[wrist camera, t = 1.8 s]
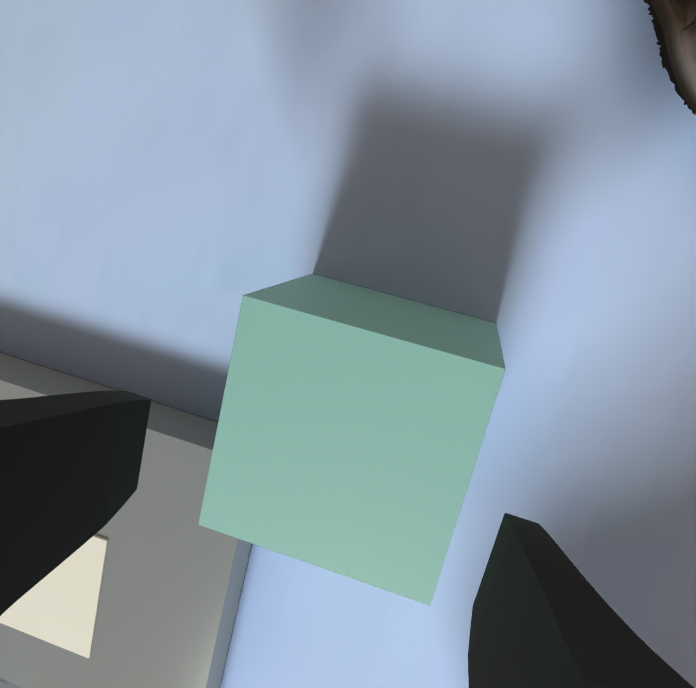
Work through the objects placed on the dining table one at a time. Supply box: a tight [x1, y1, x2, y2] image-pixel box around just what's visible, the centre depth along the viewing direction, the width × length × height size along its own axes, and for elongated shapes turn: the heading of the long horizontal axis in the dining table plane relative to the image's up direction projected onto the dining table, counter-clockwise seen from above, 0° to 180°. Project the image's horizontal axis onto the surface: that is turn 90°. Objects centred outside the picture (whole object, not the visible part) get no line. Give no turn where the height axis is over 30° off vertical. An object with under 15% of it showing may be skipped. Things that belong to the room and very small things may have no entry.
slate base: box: [0, 353, 252, 688], centre depth 22 cm, size 14×14×2 cm
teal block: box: [198, 274, 505, 606], centre depth 16 cm, size 6×6×6 cm
